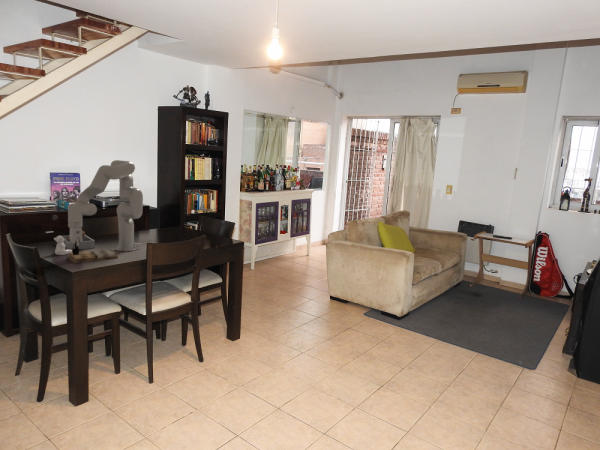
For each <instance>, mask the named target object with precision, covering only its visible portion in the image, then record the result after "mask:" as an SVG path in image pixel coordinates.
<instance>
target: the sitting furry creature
mask: <svg viewBox="0 0 600 450" xmlns="http://www.w3.org/2000/svg"><path fill="white" fill-rule="evenodd" d="M62 236H63V235H57V236H56V237H53V240H54V241H55V242H56V247H55V250H54V253H55V255H57V256H64V255H68V254H69V255H70V253H71V252H72V250H69V249H66V248H65V246H66V245H65V244H64V243H63V241H64V239H63V237H62Z"/></svg>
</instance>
